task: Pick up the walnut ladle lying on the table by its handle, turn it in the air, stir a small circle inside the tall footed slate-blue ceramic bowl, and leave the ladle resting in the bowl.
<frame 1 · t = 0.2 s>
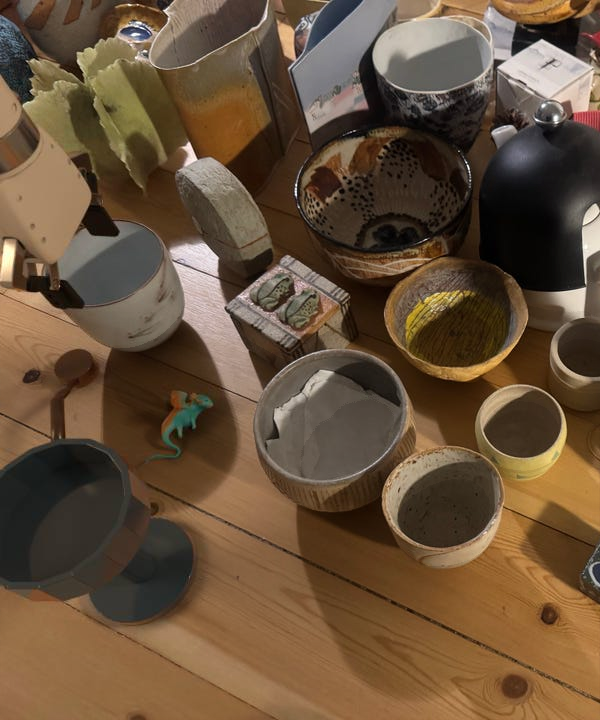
hand: (89, 268, 75), 18 cm above the table, tool pointing down, fingers open, 9 cm apart
dragon figurine: (183, 428, 84), on the table
ladle: (81, 372, 89), on the table
bowl: (78, 527, 63), on the table
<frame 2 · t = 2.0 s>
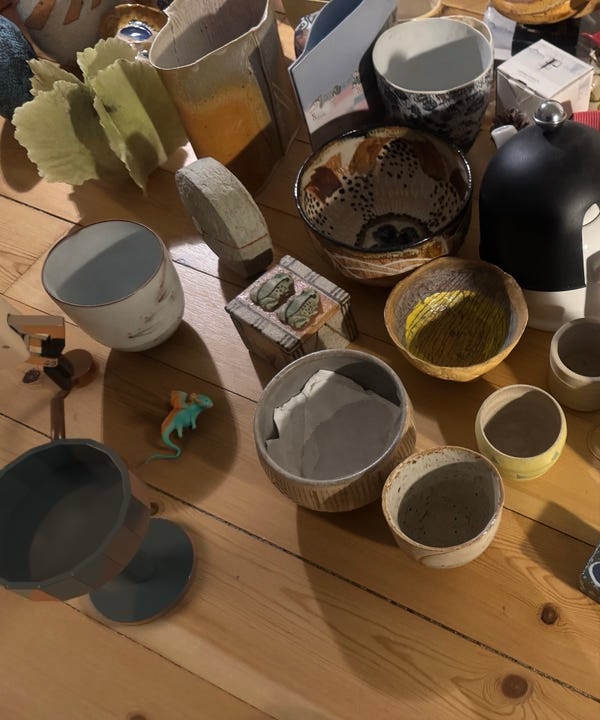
hand: (19, 393, 71), 14 cm above the table, tool pointing down, fingers open, 9 cm apart
nothing on the table moved.
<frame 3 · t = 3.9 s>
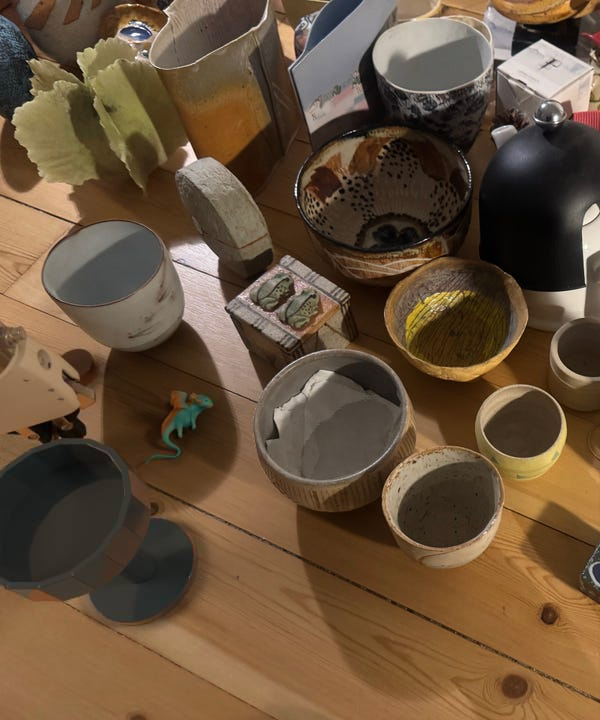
hand: (71, 439, 80), 3 cm above the table, tool pointing down, fingers closed on ladle
ladle: (81, 372, 89), on the table, touching gripper
everything else where it was.
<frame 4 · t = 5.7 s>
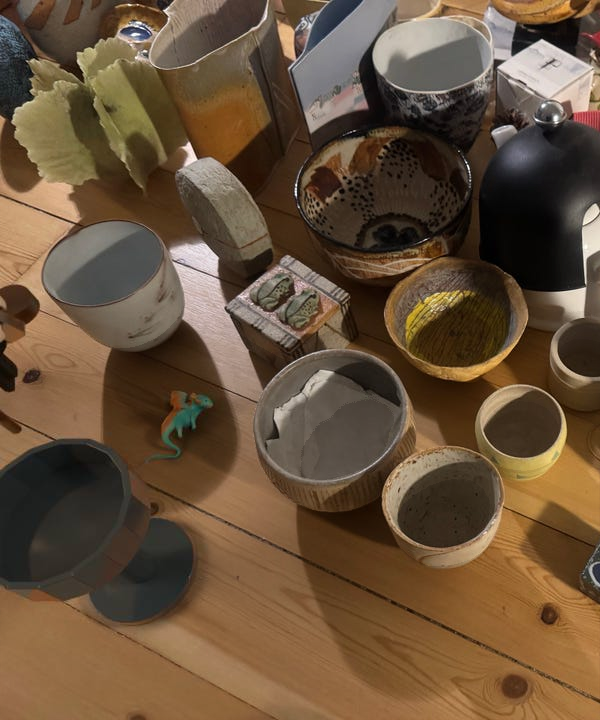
hand: (0, 382, 70), 16 cm above the table, tool pointing down, fingers closed on ladle
ladle: (18, 311, 78), point 13 cm above the table, touching gripper
everything else where it was.
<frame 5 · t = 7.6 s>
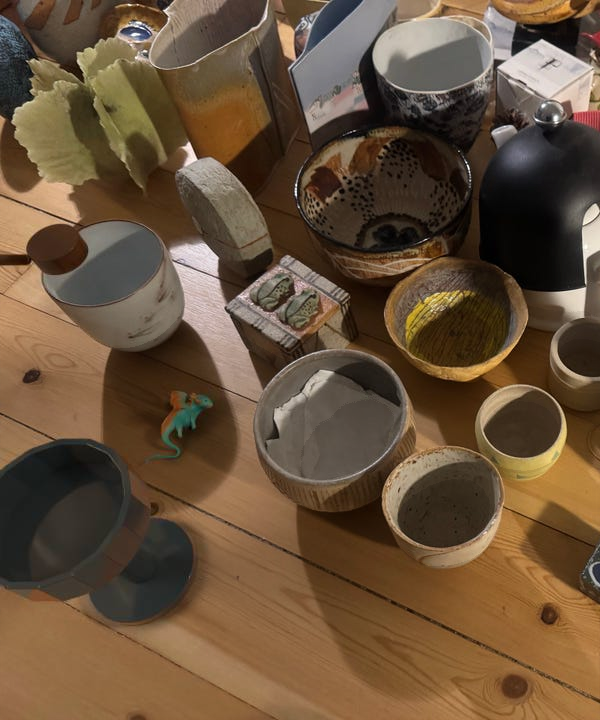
ladle: (63, 256, 66), point 25 cm above the table, touching gripper
everything else where it was.
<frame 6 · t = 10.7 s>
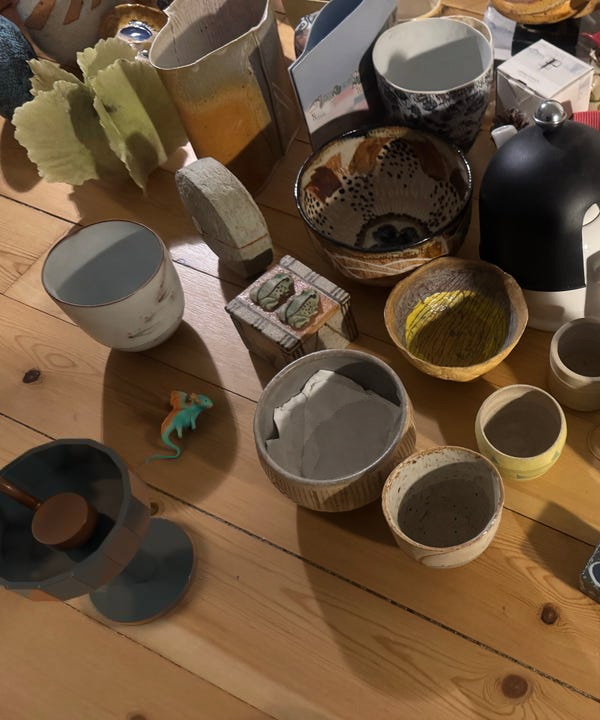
ladle: (71, 525, 61), point 16 cm above the table, touching gripper
everything else where it was.
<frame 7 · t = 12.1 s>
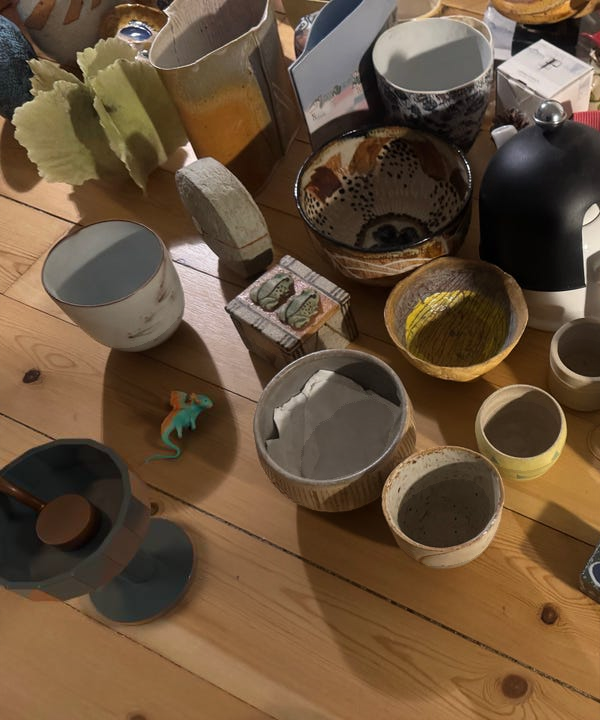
ladle: (75, 526, 63), point 15 cm above the table, touching bowl
everything else where it was.
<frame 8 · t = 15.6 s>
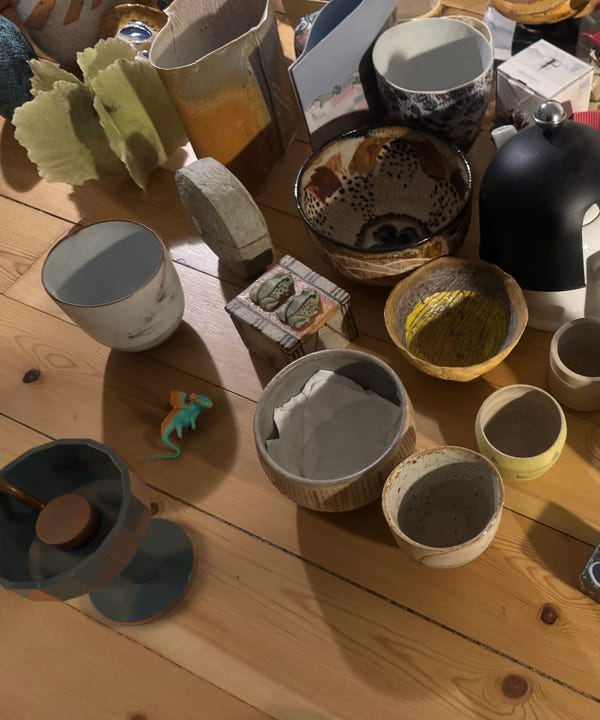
nothing on the table moved.
at the end: ladle 0.1 cm off-centre on the bowl, point 0.6 cm above the bowl's base; the gripper is holding nothing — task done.
